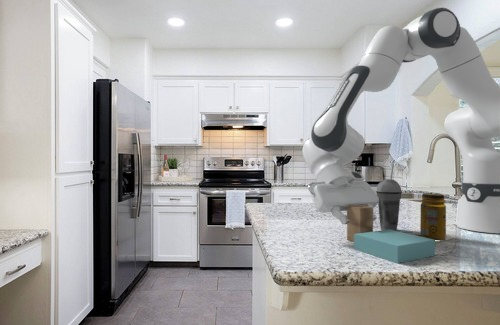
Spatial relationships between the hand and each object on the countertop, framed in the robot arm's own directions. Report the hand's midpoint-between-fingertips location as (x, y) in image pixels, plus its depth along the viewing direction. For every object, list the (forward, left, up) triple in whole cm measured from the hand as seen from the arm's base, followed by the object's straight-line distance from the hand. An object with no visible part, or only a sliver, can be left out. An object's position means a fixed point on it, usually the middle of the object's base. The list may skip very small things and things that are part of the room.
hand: (360, 221), depth 82 cm
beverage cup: (-18, -6, -5) cm, 20 cm away
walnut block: (0, 0, -5) cm, 5 cm away
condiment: (-20, +6, -5) cm, 22 cm away
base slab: (+1, +11, -5) cm, 12 cm away
